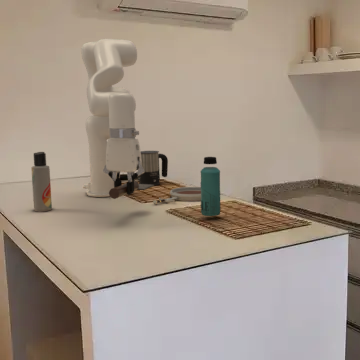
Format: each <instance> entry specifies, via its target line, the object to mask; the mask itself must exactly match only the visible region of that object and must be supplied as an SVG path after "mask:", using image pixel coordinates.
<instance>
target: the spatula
mask: <svg viewBox="0 0 360 360" xmlns="http://www.w3.org/2000/svg"><path fill="white" fill-rule="evenodd" d="M153 187H155V185H150V184H139V182H137V181H136V180H135V181H134V192H136V191H146V190H149V189H150V188H153ZM109 195H110V196H109V197H110V198H111V199H112V200H116V199H119V198H122V197H124V196H126V195H127V182H126V183H123V184H122V185H120V186H118V187H115V188H112V189H111V190H110V191H109Z"/></svg>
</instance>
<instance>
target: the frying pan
mask: <svg viewBox="0 0 360 360" xmlns="http://www.w3.org/2000/svg"><path fill="white" fill-rule="evenodd" d="M169 195H170V197H169V198H161V197H158V200H156V199H154V200H153V202H152V204H153V205H156V206H157V204H160V203H163V202H164V203H173V204H175V203H176V202H175V200H176V201H180V202H201V186H181V187H176V188H172V189H170V191H169Z"/></svg>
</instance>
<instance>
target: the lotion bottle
mask: <svg viewBox="0 0 360 360" xmlns="http://www.w3.org/2000/svg"><path fill="white" fill-rule="evenodd" d="M46 155H47V154H46V153H45V151H37V152H33V166H31V182H32V184H31V185H32V200H33V211H34V212H37V213H39V212H40V213H42V212H43V213H44V212H49V211H52V209H53V205H52V202H53V201H52V187H51V169H50V166H49V165H47V156H46Z"/></svg>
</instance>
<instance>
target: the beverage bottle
mask: <svg viewBox="0 0 360 360" xmlns="http://www.w3.org/2000/svg"><path fill="white" fill-rule="evenodd" d="M217 163H218V162H217V157H216V156H205V157H204V158H203V165H217ZM199 187H201V200H200V213H201V215H202V216H204V217H216V216H220V215H221V209H222V206H221V203H222V202H221V201H222V199H221V170H220V169H219V168H218V167H216V166H205V167H203V168H201V170H200V186H199Z"/></svg>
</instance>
